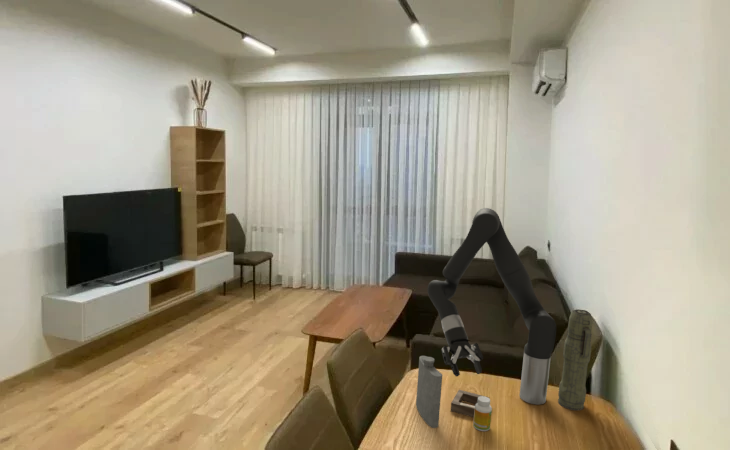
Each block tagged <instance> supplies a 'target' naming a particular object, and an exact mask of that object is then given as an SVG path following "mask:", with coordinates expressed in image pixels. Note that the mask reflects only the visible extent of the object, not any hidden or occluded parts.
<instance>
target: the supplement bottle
mask: <svg viewBox="0 0 730 450" xmlns="http://www.w3.org/2000/svg"><path fill="white" fill-rule="evenodd" d="M488 397H489V396H486V397H485V395H482V396H479V397H478V400H477V402H478V403H476V404H474V406H475V410H474V417H473V422H472V423H473V425H472V426H473V427H474V429H476V430H477V431H479V432H488V431H489V430H490V429H491V422H492V413H493V410H492V409H493V408H492V406H491V399H490V397H489V398H488Z"/></svg>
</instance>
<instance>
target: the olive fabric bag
mask: <svg viewBox="0 0 730 450" xmlns="http://www.w3.org/2000/svg"><path fill="white" fill-rule="evenodd" d="M592 329H593V318H592V313H591V312H590V311H587V310H584V309H574V310H572V311H571V313H570V314H569V318H568V326H567V334H566V335H567V336H566V338H565V340H564V343H563V344H564V346H563V352H562V353H563V354H562V357H563V365H562V372H561V373H562V374H561V381H560V382H559V386H558V399H557V403H558V404H559V405H560V406H561V407H562V408H565V409H567V410H571V411H582V410H584V407H585V402H586V397H587V396H586V395H587V387H586V381H587V375H588V367H589V366H588V365H589V363H590V362H591V354H592V344H591V341H592Z"/></svg>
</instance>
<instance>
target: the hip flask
mask: <svg viewBox="0 0 730 450" xmlns="http://www.w3.org/2000/svg"><path fill="white" fill-rule="evenodd" d="M434 363H435V358H434V357H432V356H427V355H420V356H419V359H418V370H417V372H418V373H417V383H416V384H417V385H416V386H417V387H416V398H415V399H416V401H415V406H416V408H417V411H418V413H419V416H420V417H421V418H422V420H423V421H424V422H425V423H426V424H427V425H428V426H429V427H430V428H431V429H437V428H438V427H439V425H440V424H439V423H440V410H441V397H442V396H441V395H442V385H443V373H442V372H440V371H439V370H437V368H436V367H435V366H434Z"/></svg>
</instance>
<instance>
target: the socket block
mask: <svg viewBox="0 0 730 450" xmlns="http://www.w3.org/2000/svg"><path fill="white" fill-rule="evenodd" d="M479 396H483V394H479V393H478V394H477V393H474V392H470V391H465V390H462V389H458V390H457V392H456V394H455V395H454V397H453V399H452V400H451V403H450V412H452V413H457V414H459V415H460V414H461V415H463V416H467V417H470V418H474V410H475V404H476V403H478V402H477V400H478V397H479ZM484 396H485V395H484ZM485 397H488V398H489V399H490V396H485ZM463 402H464V403H463ZM468 403H469V404H468ZM471 404H472V405H471Z"/></svg>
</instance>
